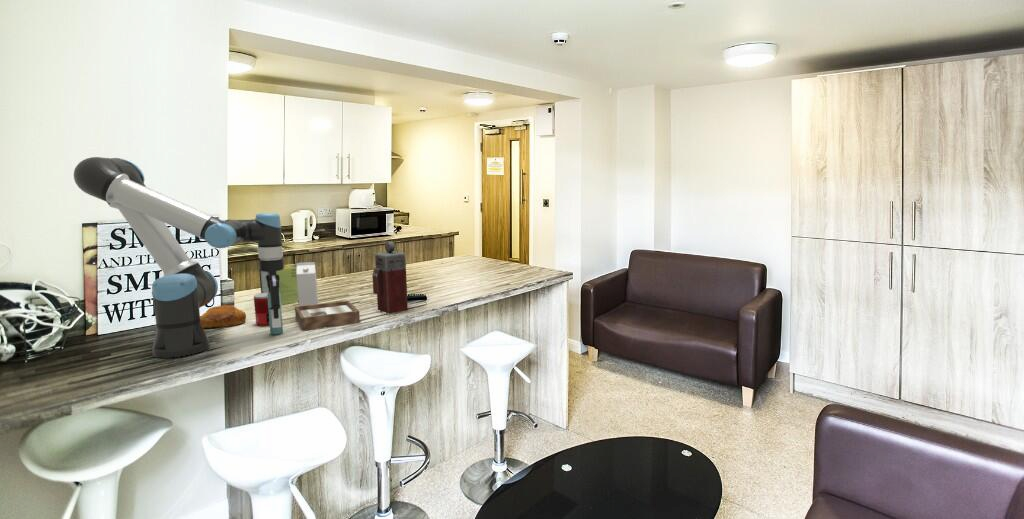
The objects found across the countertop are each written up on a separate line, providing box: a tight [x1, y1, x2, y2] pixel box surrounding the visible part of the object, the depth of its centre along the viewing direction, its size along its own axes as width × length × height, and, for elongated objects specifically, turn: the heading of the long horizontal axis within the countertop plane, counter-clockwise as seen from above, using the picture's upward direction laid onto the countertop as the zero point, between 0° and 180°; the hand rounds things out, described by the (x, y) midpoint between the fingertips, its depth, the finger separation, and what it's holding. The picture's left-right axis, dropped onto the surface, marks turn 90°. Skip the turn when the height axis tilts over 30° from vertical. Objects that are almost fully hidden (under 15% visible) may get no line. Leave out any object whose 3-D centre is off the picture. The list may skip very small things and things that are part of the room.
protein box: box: [258, 263, 299, 306], centre depth 230 cm, size 10×15×16 cm
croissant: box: [200, 304, 247, 329], centre depth 196 cm, size 14×16×8 cm
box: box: [294, 300, 361, 331], centre depth 199 cm, size 20×20×4 cm
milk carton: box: [296, 261, 319, 306], centre depth 219 cm, size 7×7×19 cm
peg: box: [267, 292, 284, 335], centre depth 182 cm, size 4×4×14 cm
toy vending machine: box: [372, 241, 409, 314], centre depth 211 cm, size 9×11×28 cm
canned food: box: [253, 292, 270, 327], centre depth 195 cm, size 8×8×11 cm
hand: (276, 325), depth 182 cm, fingers closed on peg, 4 cm apart
